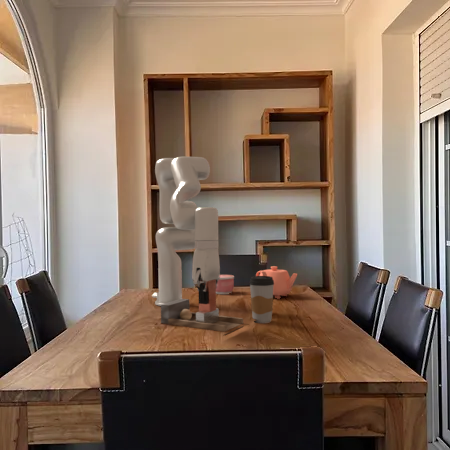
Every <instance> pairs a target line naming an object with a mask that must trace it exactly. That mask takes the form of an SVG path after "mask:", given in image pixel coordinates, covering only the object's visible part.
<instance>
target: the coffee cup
mask: <svg viewBox="0 0 450 450" xmlns="http://www.w3.org/2000/svg"><path fill="white" fill-rule="evenodd" d="M273 285H274V280H273V278H272V277H270V276H256V275H254V276H251V277H250V279H249V288H250V304H251V305H250V306H251V314H252V315H251V316H252V319H253V323H256V324H268V323H271V321H272V318H273V317H272V315H273V308H274V307H273V304H274V303H273V302H274V295H273Z"/></svg>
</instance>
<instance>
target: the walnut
mask: <svg viewBox="0 0 450 450" xmlns="http://www.w3.org/2000/svg"><path fill="white" fill-rule="evenodd" d="M191 312H192V311H191V310H190V308H189V309H183V310H182V311H181V312H180V318H181V319H182V320H188V321H189V320H190V319H191V317H192V313H191Z"/></svg>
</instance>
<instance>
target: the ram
mask: <svg viewBox="0 0 450 450" xmlns="http://www.w3.org/2000/svg"><path fill="white" fill-rule="evenodd" d="M201 281H203V279H201ZM201 284H203V286H204V283H201ZM207 291H208V304H199V303H198V311H197V312H195V313H196V322H204V323H214V322H216V321H219V316H220V314H219V313H220V310H219V308H218V307H217V294H216V279H214V280H210V281H208V282H207Z"/></svg>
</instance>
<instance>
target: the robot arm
mask: <svg viewBox="0 0 450 450" xmlns="http://www.w3.org/2000/svg"><path fill="white" fill-rule="evenodd" d="M210 167H211V166H210V163H209V161H208V160H207V158H205V157H202V156H187V155H186V156H177V157H163V158H160V159H158V160H157V161H156V162H155V167H154V168H155V169H154V173H155V179H156V183H157V185H158V188H159V219H160V221H161V223H162V224H166V225H174V226H166V227H162V228H160V229H158V230H157V231H156V233H155V243H156V249H157V261H158V264H157V265H158V268H157V270H158V292H153V294H152V295H151V297H152V298H156V300H155V302H154V304H155V305H156V306H158V307H161V304H165V303H169V302H172V301H176V300H179V299H183V281H182V280H183V279H182V276H183V275H182V274H183V272H182V259H181V257H180V255H178V254H177V252H176V251H187V250H194V251H193V257H192V270H191V271H192V272H191V278H192V281H193V285H194V286H195V287H196V288H197V292H198V305H199V304H208V291H207V282H208V281H210V280H214V279H216V288H217V283H218V280H219V279H220V275H221V273H220V272H221V267H220V266H221V265H220V256H219V255H220V254H219V211H218V209H217V208H216V207H214V206H212V207H210V206H209V207H208V206H206V207H200V206H198V205H197V204H196V203H195V201H191V199H192V198H195V197H196V196H198V195H199V194H200V191H201V189H202V186H201V183H200V181H205V180H206V179H208V178H209V176H210V174H211V173H210V172H211V168H210ZM201 279H203V281H201ZM201 283H204V286H203V284H201Z"/></svg>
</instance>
